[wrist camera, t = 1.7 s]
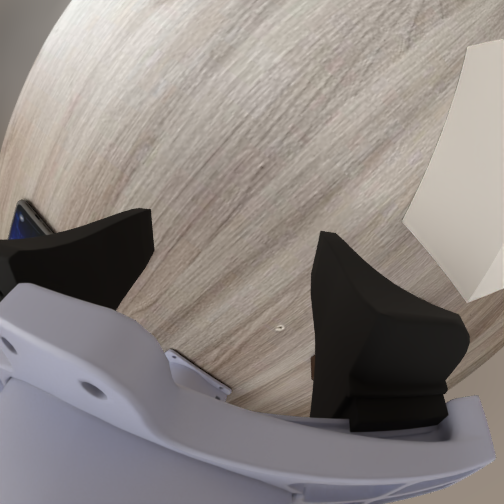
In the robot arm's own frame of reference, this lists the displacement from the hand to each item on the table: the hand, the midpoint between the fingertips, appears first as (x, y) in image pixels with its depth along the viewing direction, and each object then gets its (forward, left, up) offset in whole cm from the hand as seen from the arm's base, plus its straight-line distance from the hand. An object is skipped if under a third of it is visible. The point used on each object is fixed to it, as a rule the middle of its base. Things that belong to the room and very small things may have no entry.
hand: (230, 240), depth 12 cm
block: (-10, -22, -10) cm, 26 cm away
